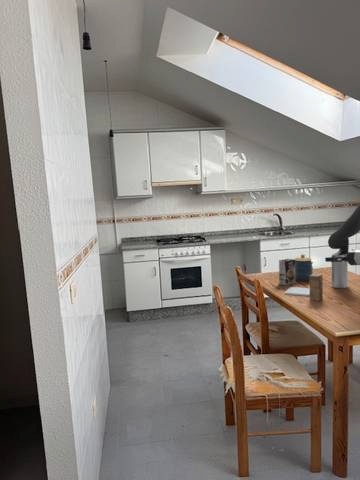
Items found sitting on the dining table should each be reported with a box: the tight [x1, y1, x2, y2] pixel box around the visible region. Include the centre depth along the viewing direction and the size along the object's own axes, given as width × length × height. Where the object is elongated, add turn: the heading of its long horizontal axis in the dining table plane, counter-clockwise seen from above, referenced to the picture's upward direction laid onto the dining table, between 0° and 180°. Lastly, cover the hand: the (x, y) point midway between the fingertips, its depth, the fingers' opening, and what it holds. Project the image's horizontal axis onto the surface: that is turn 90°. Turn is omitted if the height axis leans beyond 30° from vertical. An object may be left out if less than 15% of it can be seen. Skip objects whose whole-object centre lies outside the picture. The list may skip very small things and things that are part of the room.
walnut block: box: [309, 273, 324, 302], centre depth 210 cm, size 5×5×14 cm
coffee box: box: [278, 258, 296, 286], centre depth 248 cm, size 9×6×16 cm
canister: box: [294, 253, 314, 282], centre depth 257 cm, size 13×13×18 cm
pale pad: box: [284, 286, 310, 297], centre depth 227 cm, size 14×14×1 cm
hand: (330, 258), depth 200 cm, fingers open, 8 cm apart
